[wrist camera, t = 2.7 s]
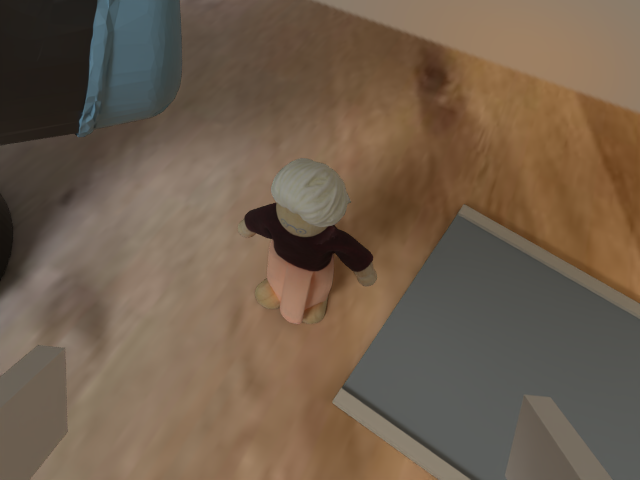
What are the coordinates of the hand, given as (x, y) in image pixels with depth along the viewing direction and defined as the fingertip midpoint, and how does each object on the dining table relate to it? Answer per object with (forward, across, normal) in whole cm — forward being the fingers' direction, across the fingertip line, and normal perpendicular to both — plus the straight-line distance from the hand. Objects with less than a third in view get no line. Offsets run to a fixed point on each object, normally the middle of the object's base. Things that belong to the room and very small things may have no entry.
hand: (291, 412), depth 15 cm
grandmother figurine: (+16, 0, -3) cm, 17 cm away
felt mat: (+14, +13, -5) cm, 20 cm away
